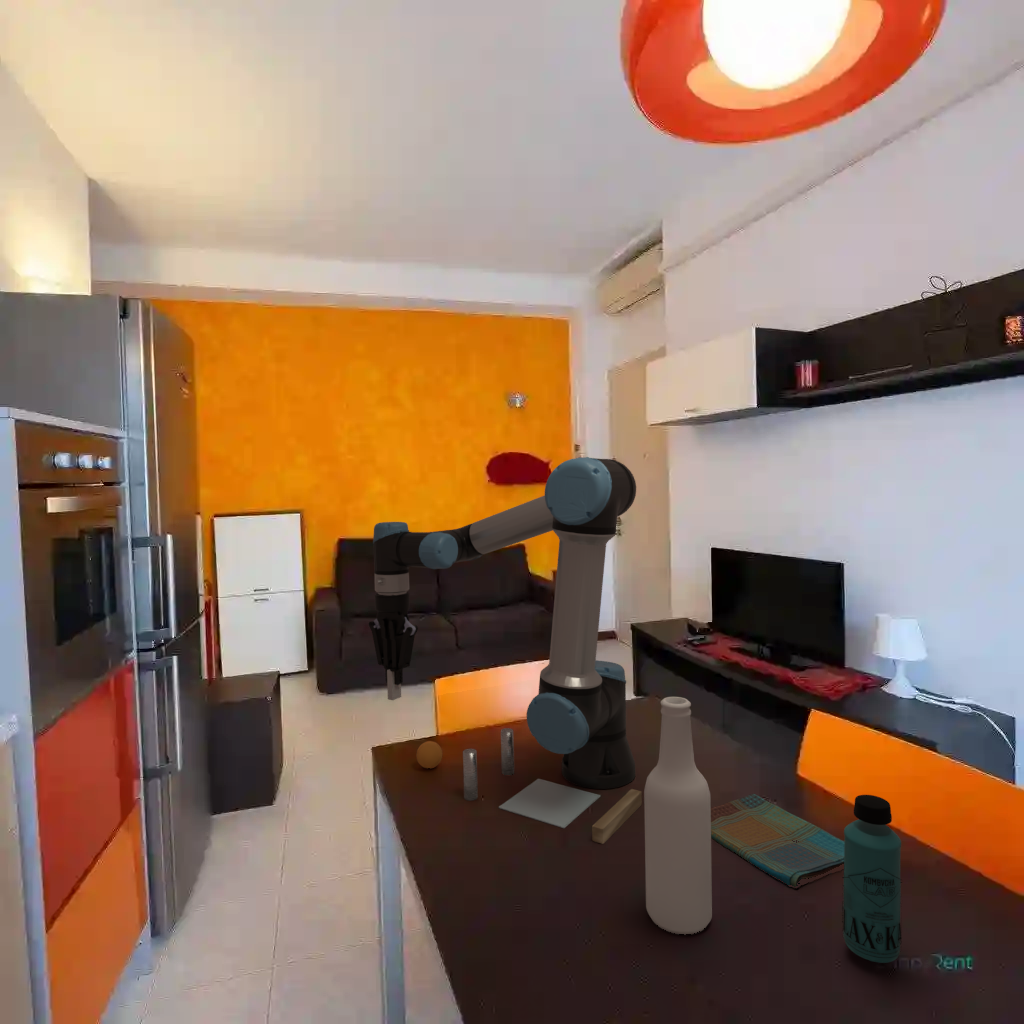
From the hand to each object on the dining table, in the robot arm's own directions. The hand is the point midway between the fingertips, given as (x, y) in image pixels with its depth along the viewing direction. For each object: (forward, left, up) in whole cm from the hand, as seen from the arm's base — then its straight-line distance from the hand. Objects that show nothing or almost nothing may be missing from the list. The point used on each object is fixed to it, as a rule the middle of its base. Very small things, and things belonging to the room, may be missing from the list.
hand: (394, 698), depth 147 cm
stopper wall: (-54, 0, -13) cm, 55 cm away
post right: (-26, -6, -13) cm, 30 cm away
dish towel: (-78, -8, -14) cm, 80 cm away
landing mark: (-40, 0, -13) cm, 42 cm away
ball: (-10, 0, -11) cm, 15 cm away
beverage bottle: (-95, +14, -14) cm, 97 cm away
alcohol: (-72, +19, -14) cm, 75 cm away
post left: (-26, +6, -13) cm, 30 cm away
